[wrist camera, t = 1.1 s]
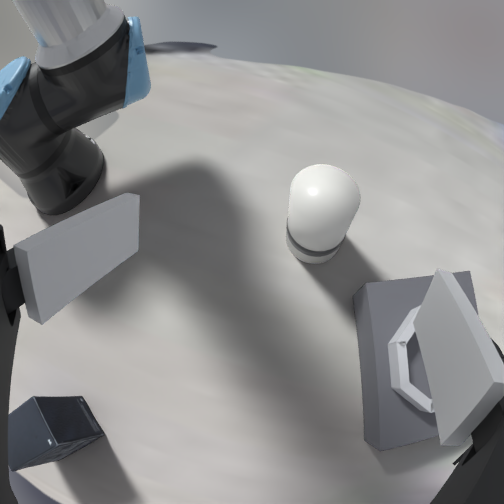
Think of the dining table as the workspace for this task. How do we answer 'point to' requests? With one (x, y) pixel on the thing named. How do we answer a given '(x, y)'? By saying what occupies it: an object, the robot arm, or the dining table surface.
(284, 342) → the dining table surface
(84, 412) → the small box
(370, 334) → the octagonal socket base
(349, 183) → the white glossy rounded part
